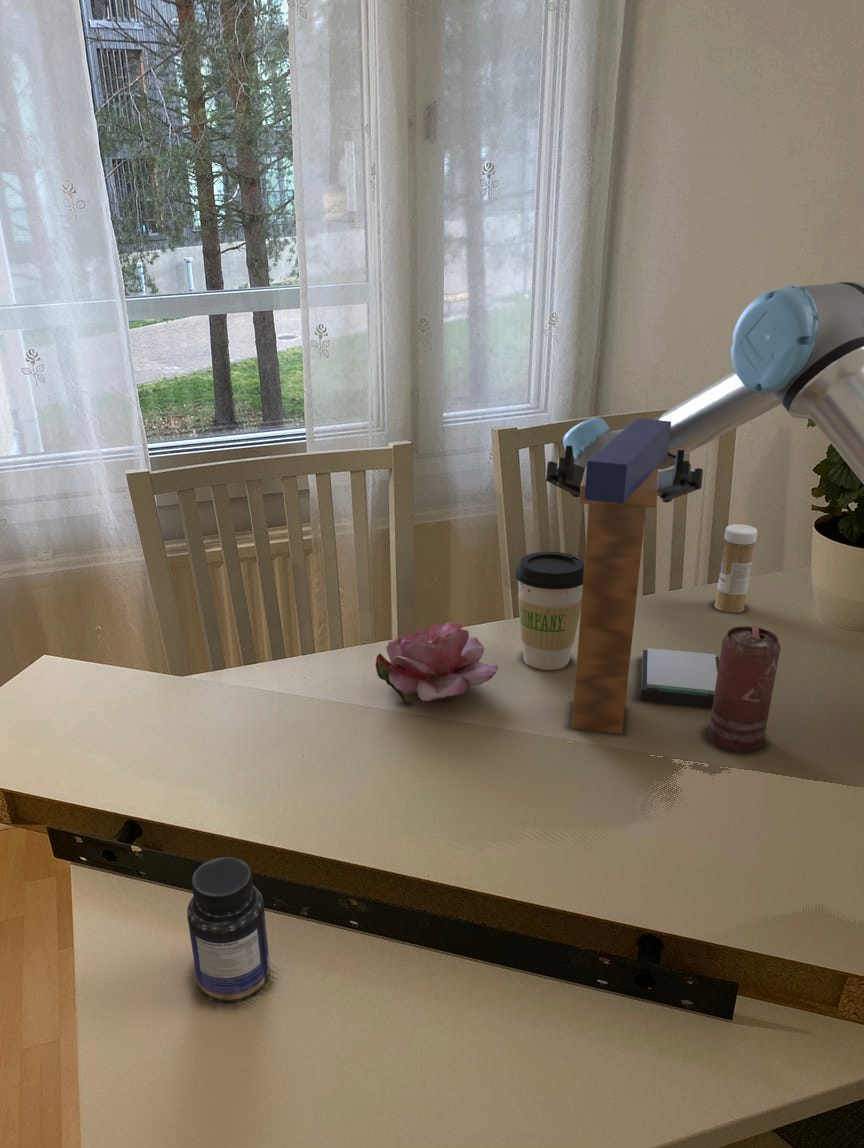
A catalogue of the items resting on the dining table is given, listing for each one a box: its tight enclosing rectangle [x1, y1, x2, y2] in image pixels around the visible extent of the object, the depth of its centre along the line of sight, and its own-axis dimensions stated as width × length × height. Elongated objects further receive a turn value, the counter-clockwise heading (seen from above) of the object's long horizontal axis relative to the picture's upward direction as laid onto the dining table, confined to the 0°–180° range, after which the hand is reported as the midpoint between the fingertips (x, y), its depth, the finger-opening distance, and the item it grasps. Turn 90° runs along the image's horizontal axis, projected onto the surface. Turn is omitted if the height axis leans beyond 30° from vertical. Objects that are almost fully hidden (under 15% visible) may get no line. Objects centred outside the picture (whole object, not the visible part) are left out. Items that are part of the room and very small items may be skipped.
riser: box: [571, 467, 659, 735], centre depth 107 cm, size 8×8×31 cm
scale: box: [640, 647, 720, 709], centre depth 121 cm, size 10×12×3 cm
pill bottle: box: [186, 856, 271, 1005], centre depth 74 cm, size 6×6×11 cm
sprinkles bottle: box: [714, 523, 758, 613], centre depth 141 cm, size 5×5×14 cm
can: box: [708, 625, 781, 753], centre depth 105 cm, size 6×6×14 cm
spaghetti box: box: [584, 418, 671, 504], centre depth 100 cm, size 4×22×4 cm, turn 153°
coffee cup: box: [514, 551, 585, 671], centre depth 125 cm, size 10×10×15 cm
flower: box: [375, 621, 499, 705], centre depth 119 cm, size 15×15×10 cm
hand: (623, 458), depth 114 cm, fingers open, 13 cm apart
